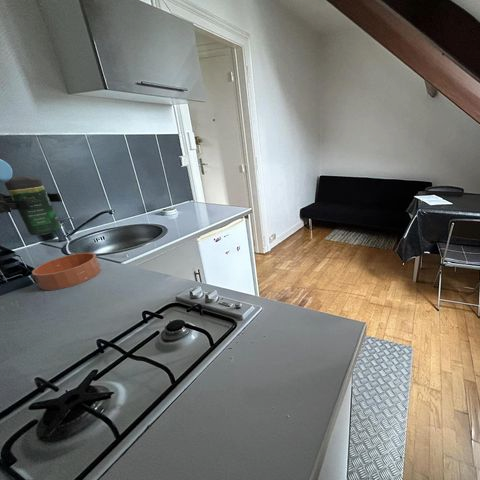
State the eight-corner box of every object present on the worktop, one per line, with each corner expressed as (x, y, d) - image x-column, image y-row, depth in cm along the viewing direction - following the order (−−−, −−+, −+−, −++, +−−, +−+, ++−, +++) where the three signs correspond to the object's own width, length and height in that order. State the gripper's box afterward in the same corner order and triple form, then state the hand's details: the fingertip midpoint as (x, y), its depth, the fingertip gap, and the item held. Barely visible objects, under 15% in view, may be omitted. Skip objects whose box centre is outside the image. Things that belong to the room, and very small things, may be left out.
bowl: (31, 296, 80) (22, 280, 77) (49, 274, 93) (42, 260, 90) (96, 279, 87) (90, 265, 85) (104, 261, 100) (99, 248, 97)
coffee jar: (62, 231, 88) (36, 175, 80) (29, 238, 83) (-2, 179, 76) (63, 225, 94) (39, 173, 87) (32, 231, 90) (5, 176, 83)
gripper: (29, 205, 98) (81, 203, 95) (-51, 223, 79) (10, 222, 76) (20, 185, 95) (72, 183, 92) (-67, 199, 76) (-4, 197, 73)
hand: (44, 200), depth 84 cm, fingers closed on coffee jar, 8 cm apart
